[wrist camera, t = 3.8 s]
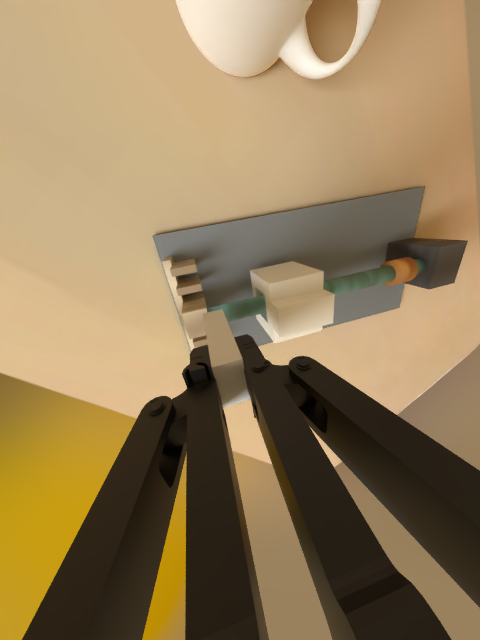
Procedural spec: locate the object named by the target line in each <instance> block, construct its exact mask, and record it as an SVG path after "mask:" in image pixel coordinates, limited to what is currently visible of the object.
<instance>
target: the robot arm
mask: <svg viewBox="0 0 480 640" xmlns="http://www.w3.org/2000/svg"><path fill="white" fill-rule="evenodd" d="M203 318H204V324H205V330H206V336H207V342H208V345H205V346H201V347H197V348H193V350H192V351H191V353H190V364H189V365H188V366H186V368H185V369H184V370H183V373H182V375H183V378H184V380H185V383H186V386H187V389H186V390H185V391H184V392H183V393H182V394H180V395H179V396H177V397H175V398H173V399H172V400H171V398H169V397H167V396H160V397H156V398H154V399H152V400H151V401H149V402H148V403H147V404H146V405H145V406H144V407H143V409H142V410H141V412H140V414H139V416H138V418H137V420H136V422H135V424H134V426H133V428H132V430H131V432H130V433H129V435H128V437H127V439H126V441H125V443H124V445H123V447H122V449H121V451H120V453H119V455H118V457H117V458H116V460H115V462H114V464H113V466H112V468H111V470H110V472H109V474H108V476H107V478H106V480H105V481H104V483H103V485H102V487H101V489H100V491H99V493H98V495H97V497H96V499H95V501H94V503H93V504H92V506H91V508H90V510H89V512H88V514H87V516H86V518H85V520H84V522H83V524H82V526H81V528H80V530H79V531H78V533H77V535H76V537H75V539H74V541H73V543H72V545H71V547H70V549H69V551H68V552H67V554H66V556H65V558H64V560H63V562H62V564H61V566H60V568H59V570H58V572H57V574H56V576H55V577H54V579H53V582H52V583H51V585H50V587H49V589H48V591H47V593H46V595H45V597H44V599H43V601H42V602H41V604H40V606H39V608H38V610H37V612H36V614H35V616H34V618H33V620H32V622H31V624H30V625H29V627H28V630H27V631H26V633H25V635H24V637H23V639H22V640H142V638H143V633H144V628H145V625H146V621H147V616H148V612H149V607H150V604H151V599H152V595H153V591H154V587H155V582H156V578H157V574H158V570H159V566H160V561H161V557H162V553H163V549H164V545H165V540H166V536H167V532H168V527H169V523H170V519H171V515H172V511H173V506H174V502H175V498H176V494H177V490H178V485H179V481H180V477H181V472H182V469H183V464H184V460H185V456H186V452H187V482H186V489H187V490H186V494H187V495H186V626H185V627H186V630H185V633H186V634H185V637H186V638H185V640H269V638H268V633H267V627H266V623H265V617H264V612H263V607H262V603H261V597H260V592H259V587H258V581H257V576H256V571H255V566H254V561H253V556H252V551H251V546H250V541H249V536H248V530H247V525H246V520H245V515H244V510H243V505H242V500H241V494H240V489H239V484H238V479H237V474H236V469H235V464H234V459H233V454H232V448H231V443H230V438H229V433H228V428H227V423H226V418H225V414H224V410H223V408H225V407H228V406H231V405H235V404H238V403H241V402H244V401H248V400H250V398H251V401H252V407H253V412H254V417H255V418H256V419H257V422H258V425H259V427H260V430H261V433H262V436H263V439H264V442H265V445H266V447H267V450H268V453H269V456H270V459H271V462H272V465H273V467H274V470H275V473H276V476H277V479H278V482H279V485H280V487H281V490H282V493H283V496H284V499H285V502H286V505H287V507H288V510H289V513H290V516H291V519H292V522H293V525H294V528H295V530H296V533H297V536H298V539H299V542H300V545H301V548H302V551H303V553H304V556H305V559H306V562H307V565H308V568H309V571H310V574H311V576H312V579H313V582H314V585H315V587H316V591H317V593H318V596H319V599H320V602H321V605H322V608H323V611H324V613H325V617H326V620H327V623H328V626H329V629H330V633H331V636H332V640H451V638H450V637H449V635H448V634H447V632H446V630H445V629H444V627H443V626H442V624H441V622H440V621H439V620H438V618H437V616H436V615H435V613H434V612H433V611H432V609H431V608H430V606H429V605H428V603H427V602H426V600H425V599H424V598H423V596H422V595H421V594H420V593H419V591H418V590H417V589H416V588H415V586H414V585H413V584H412V583H411V582H410V581H409V580H407V579H406V578H405V577H404V576H403V575H402V574H401V573H399V572H398V571H397V569H396V568H395V567H394V566H393V564H392V563H391V561H390V560H389V558H388V557H387V555H386V554H385V552H384V550H383V549H382V547H381V545H380V544H379V542H378V540H377V539H376V537H375V535H374V534H373V532H372V530H371V529H370V527H369V525H368V524H367V522H366V520H365V519H364V517H363V515H362V514H361V512H360V510H359V509H358V507H357V505H356V504H355V502H354V500H353V499H352V497H351V495H350V494H349V492H348V490H347V489H346V487H345V485H344V484H343V482H342V480H341V479H340V477H339V475H338V474H337V472H336V470H335V469H334V467H333V465H332V464H331V462H330V460H329V459H328V457H327V455H326V454H325V452H324V450H323V449H322V447H321V445H320V444H319V442H318V440H317V439H316V437H315V435H314V434H313V432H312V430H313V431H314V432H315V433H316V434H317V435H318V436H319V437H320V438H321V439H322V440H323V441H324V442H325V443H326V444H327V445H328V447H329V448H330V449H331V450H332V451H333V452H334V453H335V454H336V455H337V456H338V457H339V458H340V459H341V460H342V461H343V463H345V465H346V466H347V467H348V468H349V469H350V470H351V471H352V472H353V473H354V474H355V475H356V476H357V477H358V479H359V480H360V481H361V482H362V483H363V484H364V485H365V486H366V487H367V488H368V489H369V490H370V491H371V492H372V493H373V494H374V495H375V497H376V498H377V499H378V500H379V501H380V502H381V503H382V504H383V505H384V506H385V507H386V508H387V509H388V510H389V512H390V513H391V514H392V515H393V516H394V517H395V518H396V519H397V520H398V521H399V522H400V523H401V524H402V525H403V526H404V528H405V529H406V530H407V531H408V532H409V533H410V534H411V535H412V536H413V537H414V538H415V539H416V540H417V541H418V542H419V543H420V545H421V546H422V547H423V548H424V549H425V550H426V551H427V552H428V553H429V554H430V555H431V556H432V557H433V558H434V559H435V561H436V562H437V563H438V564H439V565H440V566H441V567H442V568H443V569H444V570H445V571H446V572H447V573H448V574H449V575H450V576H451V577H452V579H453V580H454V581H455V582H456V583H457V584H458V585H459V586H460V587H461V588H462V589H463V590H464V591H465V592H466V594H467V595H468V596H469V597H470V598H471V599H472V600H473V601H474V602H475V603H476V604H477V605H478V606H479V607H480V471H479V470H478V469H476V468H475V467H473V466H472V465H470V464H469V463H467V462H465V461H464V460H463V459H461V458H460V457H458V456H457V455H455V454H453V453H452V452H451V451H449V450H448V449H446V448H445V447H444V446H442V445H441V444H439V443H438V442H436V441H434V440H433V439H432V438H430V437H429V436H427V435H426V434H424V433H423V432H421V431H420V430H418V429H417V428H415V427H414V426H412V425H411V424H409V423H408V422H406V421H405V420H403V419H402V418H400V417H399V416H397V415H396V414H394V413H393V412H391V411H390V410H388V409H387V408H385V407H384V406H382V405H381V404H380V403H378V402H377V401H375V400H374V399H372V398H371V397H369V396H368V395H366V394H365V393H363V392H362V391H360V390H359V389H357V388H356V387H354V386H353V385H351V384H350V383H348V382H347V381H345V380H344V379H342V378H341V377H339V376H338V375H336V374H335V373H333V372H332V371H330V370H329V369H327V368H326V367H324V366H323V365H321V364H320V363H318V362H317V361H316V360H314V359H312V358H310V357H306V356H298V357H295V358H293V359H292V360H290V362H289V365H283V366H279V365H273V364H271V362H270V361H268V360H266V359H265V358H264V356H263V355H262V353H261V351H260V349H259V348H258V346H257V344H256V343H255V341H254V339H253V337H251V336H250V335H248V334H245V335H241V336H237V337H233V334H232V332H231V329H230V327H229V324H228V322H227V319H226V317H225V314H224V312H223V310H222V309H220V310H216V311H212V312H207V313H203ZM309 426H310V427H311V428H312V430H311V429H310V427H309Z"/></svg>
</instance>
